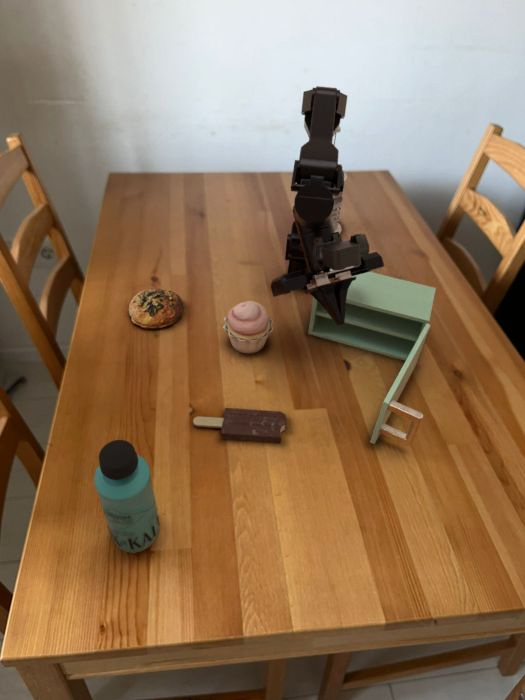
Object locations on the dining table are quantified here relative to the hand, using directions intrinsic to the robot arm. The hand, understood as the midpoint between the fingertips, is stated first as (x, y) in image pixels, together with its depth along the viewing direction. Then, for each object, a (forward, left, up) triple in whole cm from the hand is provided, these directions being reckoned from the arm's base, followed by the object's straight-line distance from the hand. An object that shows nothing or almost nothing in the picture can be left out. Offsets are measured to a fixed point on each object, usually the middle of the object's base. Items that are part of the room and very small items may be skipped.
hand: (340, 324), depth 85 cm
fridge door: (+15, -3, -11) cm, 19 cm away
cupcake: (-17, +1, -12) cm, 20 cm away
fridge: (+4, +13, -11) cm, 18 cm away
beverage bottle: (-17, -40, -12) cm, 45 cm away
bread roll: (-37, +2, -12) cm, 39 cm away
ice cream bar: (-11, -18, -12) cm, 24 cm away
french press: (-15, +46, -12) cm, 50 cm away
